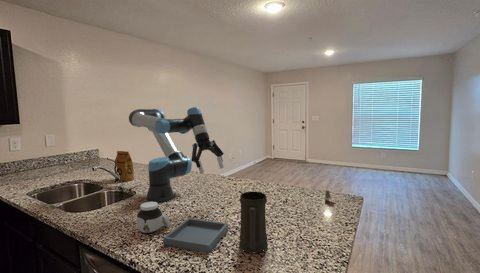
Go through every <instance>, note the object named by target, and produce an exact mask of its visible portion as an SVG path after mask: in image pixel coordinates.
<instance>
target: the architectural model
mask: <svg viewBox="0 0 480 273" xmlns="http://www.w3.org/2000/svg"><path fill="white" fill-rule="evenodd" d="M330 193H331V192H330V190H329V189H325V191H324V204H326V203H327V202H328V203H329V202H330V201H332V200H333V195H331V194H330Z"/></svg>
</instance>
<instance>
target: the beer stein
mask: <svg viewBox="0 0 480 273" xmlns="http://www.w3.org/2000/svg"><path fill="white" fill-rule="evenodd" d="M239 202H240V230H239V231H240V232H239V242H238V246H239V247H238V248H239V249H240V248H241V249H242V250H241V249H240V250H241V251H243V250H244V251H246V252H245V253H247V252H260V251H263V250H265V249H266V248H267V247H268V246H269V243H268V236H267V219H266V204H267V203H268V199H267V194H265V193H264V192H261V191H245V192H243V193H241V194H240V197H239ZM267 249H268V248H267ZM267 249H266V250H267ZM266 250H265V251H266ZM244 251H243V252H244ZM263 252H264V251H263ZM260 253H261V252H260Z"/></svg>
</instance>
